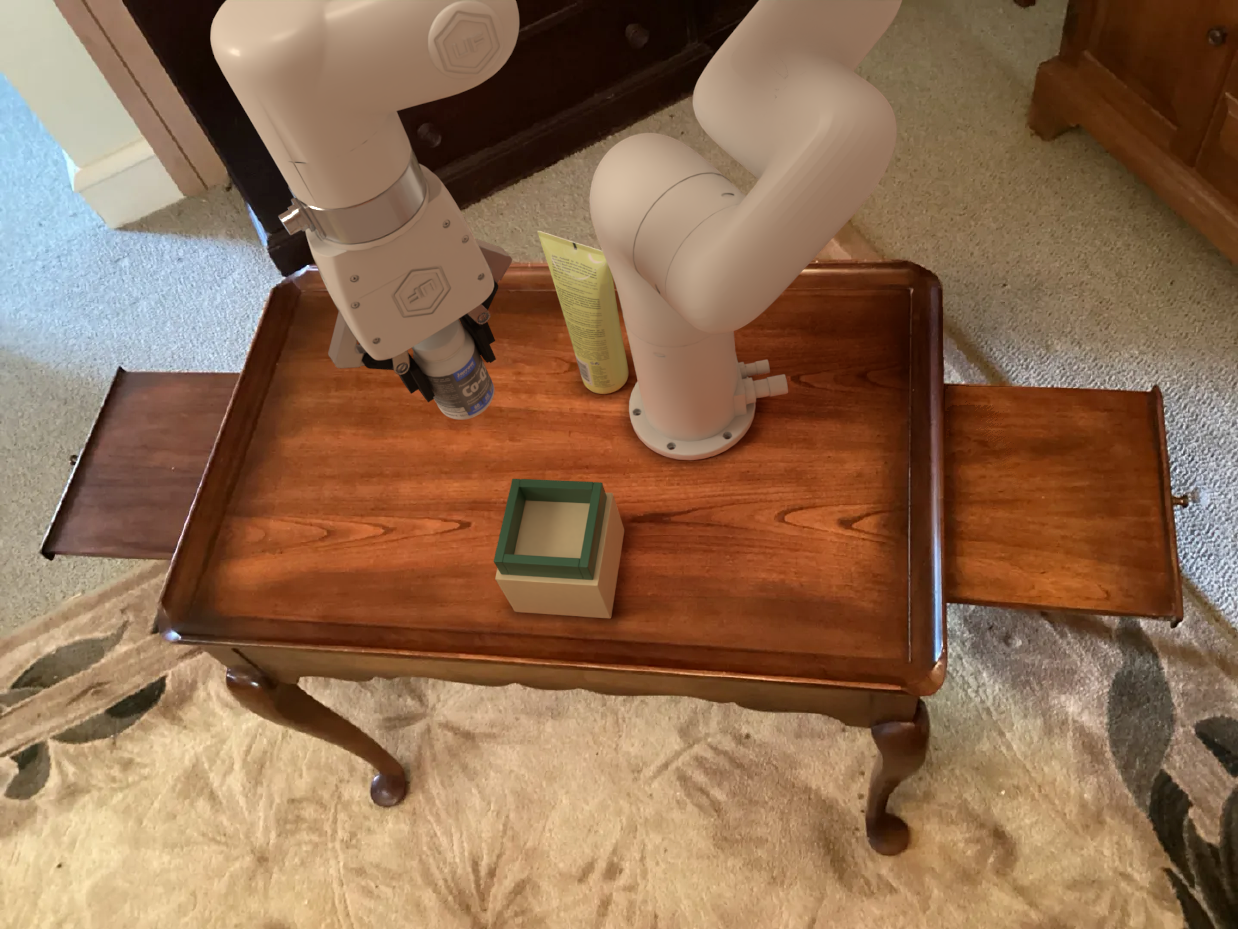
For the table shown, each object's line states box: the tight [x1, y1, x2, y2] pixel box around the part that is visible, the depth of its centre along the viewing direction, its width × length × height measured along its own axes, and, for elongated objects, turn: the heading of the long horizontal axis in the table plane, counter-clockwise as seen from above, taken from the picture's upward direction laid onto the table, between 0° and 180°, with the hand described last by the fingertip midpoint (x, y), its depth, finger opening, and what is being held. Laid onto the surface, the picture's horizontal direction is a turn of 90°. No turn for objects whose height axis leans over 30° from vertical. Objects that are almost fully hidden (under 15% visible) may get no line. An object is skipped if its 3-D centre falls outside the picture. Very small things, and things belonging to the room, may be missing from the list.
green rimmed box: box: [493, 478, 625, 619], centre depth 85 cm, size 9×9×10 cm
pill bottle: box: [411, 319, 495, 421], centre depth 73 cm, size 5×5×8 cm
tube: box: [537, 230, 630, 395], centre depth 92 cm, size 6×5×20 cm
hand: (452, 368), depth 74 cm, fingers closed on pill bottle, 4 cm apart
